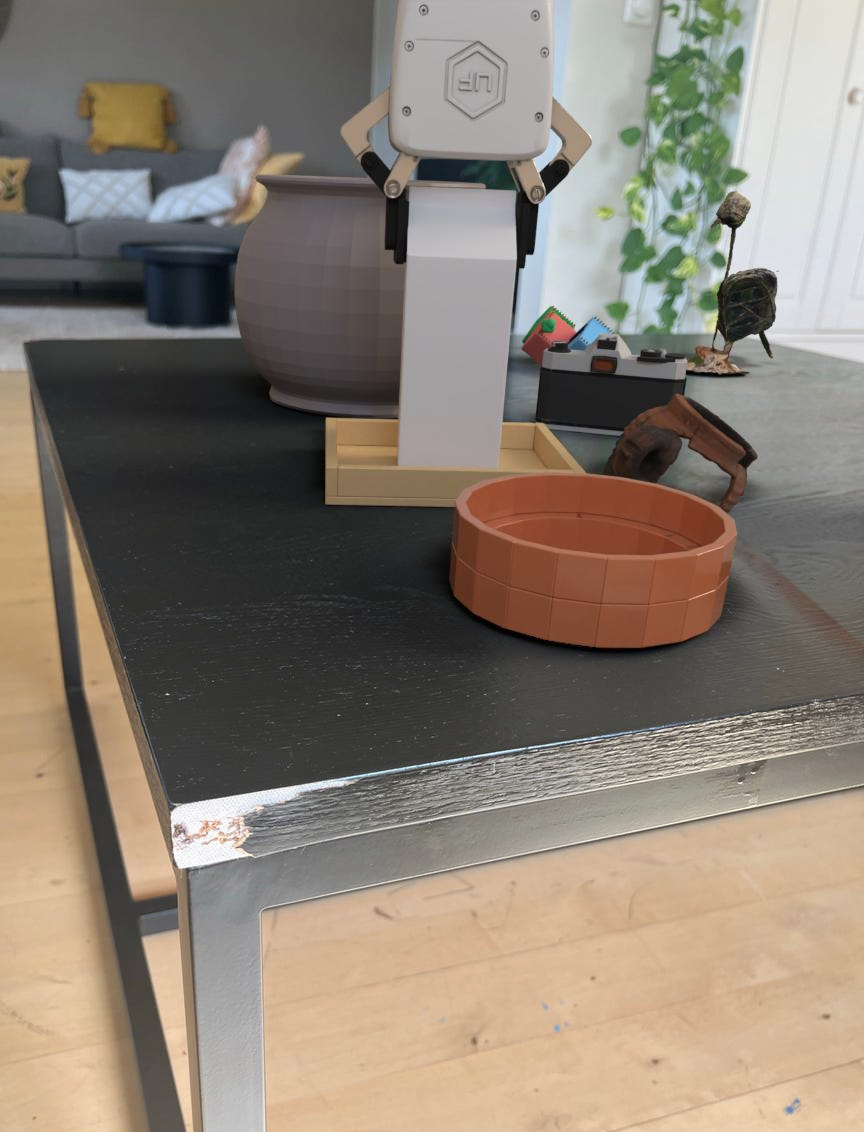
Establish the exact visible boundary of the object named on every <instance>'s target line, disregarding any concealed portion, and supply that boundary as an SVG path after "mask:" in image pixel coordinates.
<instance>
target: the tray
mask: <svg viewBox="0 0 864 1132" xmlns="http://www.w3.org/2000/svg"><path fill="white" fill-rule="evenodd" d="M397 439H398V418H385V419H374V418H352V417H325V443H324V445H325V447H324V450H325V451H324V456H325V457H324V462H325V464H324V466H325V467H324V468H325V469H324V484H325V486H324V488H325V489H324V492H325V493H324V500H325V502H324V504H325V505H326V506H327V505H328V506H369V507H370V506H371V507H373V506H375V507H378V506H379V507H380V506H381V507H425V508H426V507H428V508H454V506H455V501H456V499H457V498H458V496H459V495H460V493H461V492H462V491H463V490H464V489H466V488H468V487H470V486H472V485H474V484H476V483H479V482H481V481H483V480H488V479H493V478H497V477H502V476H507V475H515V474H528V473H542V472H544V473H545V472H558V473H587V472H586V471H585V470H584V468H583V467H582V466H581V465H580V464H579V463H578V461H577V460H576V459H575V458H574V457H573V455H572V454H571V453H570V452H569V451H568V450H567V448H565V446H564V445H563V444H562V443H561V442H560V441H559V439H558V438H557V437H556V436H555V434H553V432H552V431H551V429H548V428H547V427H546V426H545V424H544V423H536V422H510V421H502V431H501V443H500V454H499V466H498V468H467V467H422V466H397Z"/></svg>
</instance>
